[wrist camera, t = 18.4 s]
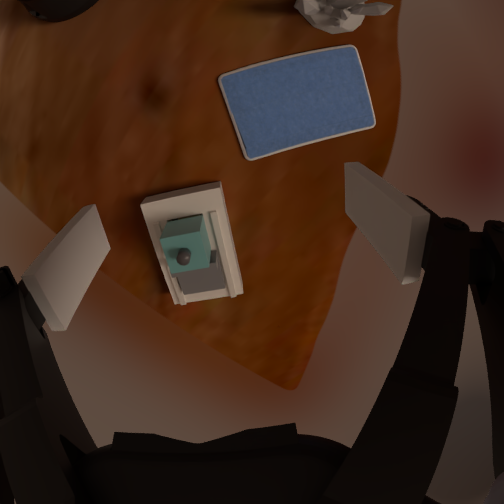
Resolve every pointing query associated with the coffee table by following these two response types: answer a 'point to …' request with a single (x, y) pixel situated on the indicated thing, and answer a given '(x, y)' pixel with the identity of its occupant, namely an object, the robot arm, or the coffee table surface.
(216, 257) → the shutter
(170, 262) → the plug
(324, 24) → the crystal
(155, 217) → the grey tray
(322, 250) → the coffee table surface
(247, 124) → the blue flat panel
